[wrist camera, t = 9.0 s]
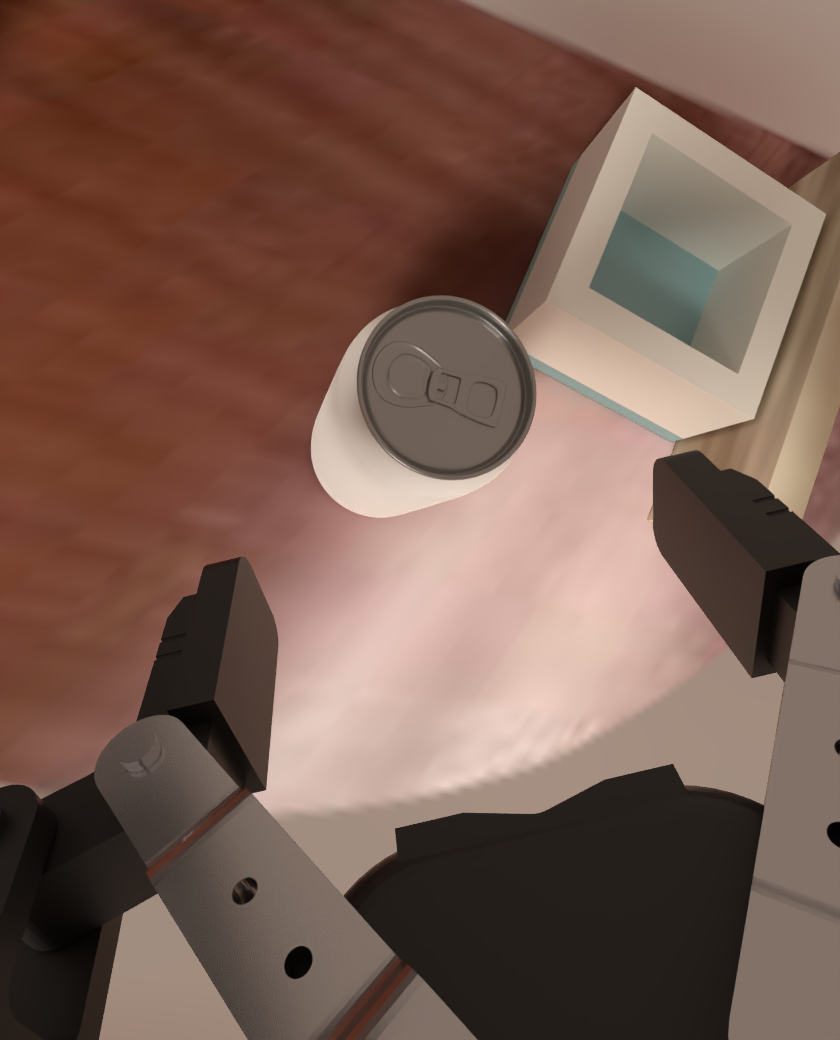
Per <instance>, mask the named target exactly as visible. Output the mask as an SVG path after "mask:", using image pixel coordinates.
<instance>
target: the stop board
mask: <svg viewBox="0 0 840 1040" xmlns="http://www.w3.org/2000/svg"><path fill="white" fill-rule="evenodd" d="M788 189H789V190H791V191H792V192H794V193H795V194H797V195H798V196H800V197H801V198H803V199H804V200H806V201H807V202H809V203H810V204H812V205H813V206H815V207H816V208H818V209H819V210H821V211H822V212H824V213H825V214H826V216H825V219H824V222H823V225H822V227H821V230H820V233H819V236H818V239H817V242H816V244H815V247H814V250H813V253H812V256H811V259H810V261H809V264H808V267H807V270H806V273H805V276H804V279H803V281H802V284H801V287H800V290H799V293H798V296H797V298H796V301H795V304H794V307H793V310H792V313H791V315H790V318H789V321H788V324H787V327H786V330H785V332H784V335H783V338H782V341H781V344H780V347H779V349H778V352H777V355H776V358H775V361H774V364H773V367H772V369H771V372H770V375H769V378H768V381H767V384H766V386H765V389H764V392H763V395H762V398H761V401H760V403H759V406H758V409H757V412H756V415H755V418H754V419H752V420H748V421H745V422H741V423H738V424H734V425H730V426H727V427H723V428H720V429H716V430H713V431H709V432H706V433H702V434H698V435H695V436H691V437H688V438H684V439H681V440H677V442H676V444H675V447H674V450H673V452H672V455H676V454H680V453H685V452H689V451H693V450H698V451H700V452H701V453H703V454H704V455H705V456H706V457H707V458H708V459H709V460H710V461H711V462H712V463H713V464H714V465H715V466H716V467H717V468H718V469H719V470H720V471H722V470H726V469H730V468H731V469H734V470H736V471H738V472H741V473H743V474H745V475H748V476H750V477H752V478H755V479H757V480H758V481H759V482H760V483H762V484H763V485H764V486H765V487H766V488H767V489H768V490H769V491H770V492H772V493H773V494H774V496H775V499H776V498H778V499H779V500H781V501H782V502H783V503H784V504H785V505H786V506H787V507H788V508H789V511H790V512H791V511H793V512H794V513H795V514H796V515H797V516H798V517H800V518H801V519H802V518H803V515H804V512H805V509H806V506H807V503H808V500H809V497H810V494H811V491H812V488H813V485H814V482H815V479H816V476H817V473H818V470H819V467H820V464H821V461H822V458H823V455H824V452H825V449H826V446H827V443H828V440H829V437H830V434H831V431H832V428H833V425H834V422H835V419H836V416H837V413H838V410H839V407H840V152H839V153H838V154H836V155H835V156H833V157H832V158H831V159H829V160H828V161H826V162H825V163H823V164H822V165H820V166H819V167H818V168H816V169H815V170H813V171H812V172H810V173H809V174H808V175H806V176H805V177H803V178H802V179H800V180H799V181H798V182H796V183H795V184H793V185H792V186H790V187H789V188H788ZM672 455H671V456H672ZM648 521H650V522H652V523H653V506H652V509H651V512H650V514H649V517H648Z"/></svg>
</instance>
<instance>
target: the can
mask: <svg viewBox="0 0 840 1040" xmlns="http://www.w3.org/2000/svg"><path fill="white" fill-rule="evenodd" d="M535 407H536V381H535V375H534V371H533V367H532V364H531V361H530V358H529V356H528V353H527V351H526V349H525V347H524V345H523V344H522V342H521V341H520V339H519V338H518V336H517V335H516V333H515V332H514V331H513V330H512V329H511V327H510V326H509V325H508V324H507V323H506V322H505V321H504V320H503V319H501V318H500V317H499V316H498V315H496V314H495V313H494V312H492V311H491V310H489V309H487V308H486V307H484V306H482V305H480V304H478V303H476V302H473V301H470V300H467V299H464V298H460V297H455V296H445V295H436V296H427V297H422V298H418V299H414V300H412V301H409V302H407V303H405V304H402V305H401V306H399V307H396V308H393V309H391V310H389V311H387V312H385V313H383V314H381V315H380V316H378V317H377V318H375V319H374V320H373V321H371V322H370V323H369V324H368V325H367V326H366V327H365V328H364V329H363V330H362V331H361V332H360V333H359V334H358V335H357V336H356V338H355V339H354V340H353V342H352V343H351V345H350V346H349V348H348V350H347V351H346V353H345V355H344V357H343V359H342V361H341V363H340V365H339V367H338V369H337V372H336V374H335V376H334V378H333V380H332V383H331V385H330V387H329V390H328V392H327V394H326V396H325V399H324V401H323V403H322V406H321V408H320V411H319V413H318V416H317V418H316V421H315V424H314V428H313V432H312V440H311V457H312V463H313V467H314V470H315V473H316V475H317V477H318V480H319V481H320V483H321V485H322V486H323V488H324V489H325V490H326V492H327V493H328V494H329V495H330V496H331V497H332V498H333V499H334V500H335V501H336V502H337V503H339V504H340V505H342V506H343V507H345V508H346V509H348V510H350V511H352V512H355V513H357V514H360V515H364V516H369V517H379V518H383V517H392V516H397V515H401V514H405V513H409V512H412V511H416V510H419V509H422V508H426V507H429V506H432V505H435V504H439V503H442V502H445V501H448V500H451V499H454V498H457V497H460V496H463V495H466V494H468V493H470V492H473V491H475V490H477V489H479V488H481V487H482V486H484V485H486V484H487V483H488V482H490V481H491V480H493V479H494V478H495V477H496V476H497V475H499V474H500V473H501V472H502V471H503V470H504V469H505V467H506V466H507V465H508V464H509V463H510V461H511V460H512V458H513V457H514V455H515V454H516V452H517V450H518V448H519V447H520V445H521V444H522V442H523V441H524V439H525V437H526V435H527V433H528V431H529V429H530V426H531V424H532V420H533V417H534V412H535Z"/></svg>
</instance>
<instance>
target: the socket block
mask: <svg viewBox="0 0 840 1040" xmlns="http://www.w3.org/2000/svg"><path fill="white" fill-rule="evenodd" d="M825 216H826V214H825V213H824V212H822V211H821V210H819V209H818V208H816V207H815V206H813V205H812V204H810V203H809V202H807V201H806V200H804V199H803V198H801V197H800V196H798V195H797V194H795V193H794V192H792V191H791V190H789V189H788V188H786V187H785V186H783V185H782V184H780V183H779V182H777V181H776V180H774V179H773V178H771V177H770V176H768V175H767V174H765V173H764V172H762V171H761V170H759V169H758V168H756V167H755V166H753V165H752V164H750V163H749V162H747V161H746V160H744V159H743V158H741V157H740V156H738V155H737V154H735V153H734V152H732V151H731V150H729V149H728V148H726V147H725V146H723V145H722V144H720V143H719V142H717V141H716V140H714V139H713V138H711V137H710V136H708V135H707V134H705V133H704V132H702V131H701V130H699V129H698V128H696V127H695V126H693V125H692V124H690V123H689V122H687V121H686V120H684V119H683V118H681V117H680V116H678V115H677V114H675V113H674V112H672V111H671V110H669V109H668V108H666V107H665V106H663V105H662V104H660V103H659V102H657V101H656V100H654V99H653V98H651V97H650V96H648V95H647V94H645V93H644V92H642V91H641V90H639V89H638V88H635V89H634V90H633V91H632V93H631V94H630V95H629V96H628V98H627V99H626V100H625V101H624V103H623V104H622V105H621V106H620V108H619V109H618V110H617V111H616V113H615V114H614V115H613V116H612V117H611V119H610V120H609V121H608V122H607V124H606V125H605V126H604V127H603V129H602V130H601V131H600V132H599V134H598V135H597V136H596V137H595V139H594V140H593V141H592V142H591V144H590V145H589V146H588V147H587V149H586V150H585V151H584V152H583V153H582V155H581V156H580V157H579V158H578V160H577V161H576V162H575V163H574V165H573V166H572V168H571V170H570V172H569V175H568V177H567V179H566V182H565V184H564V186H563V189H562V191H561V193H560V196H559V198H558V200H557V203H556V205H555V207H554V209H553V212H552V214H551V216H550V219H549V221H548V223H547V226H546V228H545V230H544V233H543V235H542V237H541V240H540V242H539V244H538V247H537V249H536V251H535V254H534V256H533V258H532V261H531V263H530V265H529V268H528V270H527V272H526V275H525V277H524V279H523V282H522V284H521V286H520V289H519V291H518V293H517V296H516V298H515V300H514V303H513V305H512V307H511V310H510V312H509V314H508V317H507V319H506V321H505V322H506V323H507V324H508V325H509V326H510V327H511V329H512V330H513V331H514V332H515V333H516V335H517V336H518V338H519V339H520V341H521V342H522V344H523V345H524V347H525V349H526V351H527V353H528V356H529V358H530V361H531V364H532V367H533V368H535V369H537V370H539V371H541V372H543V373H545V374H546V375H548V376H550V377H552V378H554V379H556V380H558V381H559V382H561V383H563V384H565V385H567V386H569V387H570V388H572V389H574V390H576V391H578V392H580V393H582V394H583V395H585V396H587V397H589V398H591V399H593V400H594V401H596V402H598V403H600V404H602V405H604V406H606V407H607V408H609V409H611V410H613V411H615V412H617V413H619V414H620V415H622V416H624V417H626V418H628V419H630V420H631V421H633V422H635V423H637V424H639V425H641V426H643V427H644V428H646V429H648V430H650V431H652V432H654V433H655V434H657V435H659V436H661V437H663V438H665V439H667V440H668V441H670V442H673V441H677V440H681V439H684V438H688V437H691V436H695V435H698V434H702V433H706V432H709V431H713V430H716V429H720V428H723V427H727V426H730V425H734V424H738V423H741V422H745V421H748V420H752V419H754V418H755V415H756V412H757V409H758V406H759V403H760V401H761V398H762V395H763V392H764V389H765V386H766V384H767V381H768V378H769V375H770V372H771V369H772V367H773V364H774V361H775V358H776V355H777V352H778V349H779V347H780V344H781V341H782V338H783V335H784V332H785V330H786V327H787V324H788V321H789V318H790V315H791V313H792V310H793V307H794V304H795V301H796V298H797V296H798V293H799V290H800V287H801V284H802V281H803V279H804V276H805V273H806V270H807V267H808V264H809V261H810V259H811V256H812V253H813V250H814V247H815V244H816V242H817V239H818V236H819V233H820V230H821V227H822V225H823V222H824V219H825Z"/></svg>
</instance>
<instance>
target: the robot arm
mask: <svg viewBox="0 0 840 1040" xmlns="http://www.w3.org/2000/svg"><path fill="white" fill-rule="evenodd" d="M653 530H654V536H655V540H656V543H657V546H658V548H659V550H660V552H661V554H662V556H663V557H664V559H665V560H666V561H667V563H668V564H669V565H670V567H671V568H672V570H673V571H674V572H675V574H676V575H677V576H678V578H679V579H680V581H681V582H682V583H683V585H684V586H685V587H686V589H687V590H688V591H689V593H690V594H691V596H692V597H693V598H694V600H695V601H696V602H697V604H698V605H699V607H700V608H701V609H702V611H703V612H704V613H705V615H706V616H707V618H708V619H709V620H710V622H711V623H712V624H713V626H714V627H715V628H716V630H717V631H718V633H719V634H720V635H721V637H722V638H723V639H724V641H725V642H726V644H727V645H728V646H729V648H730V649H731V650H732V652H733V653H734V655H735V656H736V657H737V659H738V660H739V661H740V663H741V664H742V665H743V667H744V668H745V669H746V671H747V672H748V674H749V675H750V676H751V678H754V677H759V676H763V675H767V674H771V673H776V672H777V673H778V674H779V676H780V677H781V678H782V680H783V681H784V682H785V683H784V689H783V694H782V700H781V706H780V712H779V718H778V724H777V730H776V736H775V742H774V748H773V754H772V759H771V765H770V771H769V777H768V783H767V789H766V795H765V800H764V805H762V804H760V803H757V802H755V801H753V800H751V799H748V798H745V797H743V796H739V795H737V794H734V793H731V792H727V791H722V790H718V789H713V788H707V787H700V786H685V785H684V784H683V782H682V781H681V779H680V777H679V775H678V773H677V771H676V769H675V768H674V765H673V764H671V765H666V766H662V767H657V768H653V769H650V770H645V771H640V772H636V773H632V774H627V775H623V776H619V777H615V778H610V779H606V780H603V781H601V782H600V783H598V784H596V785H594V786H592V787H590V788H588V789H586V790H584V791H582V792H580V793H579V794H577V795H575V796H573V797H571V798H569V799H567V800H565V801H563V802H562V803H560V804H558V805H556V806H554V807H552V808H550V809H548V810H546V811H544V812H541V813H537V814H499V813H498V814H497V813H461V814H456V815H452V816H448V817H443V818H439V819H435V820H430V821H426V822H422V823H418V824H413V825H409V826H405V827H400V828H396V829H395V833H396V843H397V852H396V853H394V854H392V855H390V856H388V857H387V858H385V859H384V860H382V861H381V862H379V863H378V864H376V865H375V866H374V867H372V868H371V869H370V870H369V871H368V872H366V873H365V874H364V875H363V876H362V877H361V878H359V880H357V882H356V883H355V884H354V885H353V886H352V887H351V888H350V889H349V890H348V891H347V892H346V893H345V895H344V896H343V895H342V894H341V893H340V892H339V891H338V889H337V888H336V887H335V886H334V885H333V884H332V883H331V882H330V881H329V879H328V878H327V877H326V876H325V875H324V874H323V873H322V872H321V870H320V869H319V868H318V867H317V866H316V865H315V864H314V863H313V862H312V861H311V859H310V858H309V857H308V856H307V855H306V854H305V853H304V851H303V850H302V849H301V848H300V847H299V846H298V845H297V844H296V842H295V841H294V840H293V839H292V838H291V837H290V836H289V835H288V834H287V832H286V831H285V830H284V829H283V828H282V827H281V826H280V825H279V823H278V822H277V821H276V820H275V819H274V818H273V817H272V816H271V814H270V813H269V812H268V811H267V810H266V809H265V808H264V807H263V805H262V804H261V803H260V802H259V801H258V800H257V799H256V798H255V797H254V795H253V794H252V793H255V792H260V791H264V790H266V784H267V772H268V760H269V748H270V737H271V725H272V713H273V701H274V689H275V677H276V666H277V654H278V634H277V628H276V624H275V620H274V617H273V614H272V612H271V610H270V607H269V605H268V603H267V601H266V598H265V596H264V594H263V592H262V590H261V587H260V585H259V583H258V581H257V578H256V576H255V574H254V572H253V569H252V567H251V565H250V563H249V561H248V560H247V559H246V558H245V557H239V558H235V559H230V560H226V561H222V562H218V563H214V564H209V565H206V566H205V567H204V568H203V571H202V575H201V579H200V583H199V587H198V591H197V594H195V595H190V596H186V597H183V599H182V600H181V601H180V602H179V604H178V605H177V606H176V608H175V609H174V610H173V611H172V613H171V614H170V615H169V617H168V618H167V621H166V625H165V628H164V631H163V635H162V638H161V640H162V643H160V645H159V648H158V651H157V655H156V658H157V660H155V661H154V665H153V668H152V671H151V675H150V678H149V681H148V685H147V688H146V691H145V695H144V698H143V701H142V705H141V708H140V711H139V715H138V718H137V721H136V722H135V723H133V724H131V725H130V726H128V727H126V728H125V729H123V730H122V731H121V732H120V733H118V734H117V735H116V736H115V737H114V738H113V739H112V740H111V741H110V742H109V743H108V744H107V746H106V747H105V748H104V750H103V751H102V753H101V754H100V756H99V758H98V760H97V763H96V766H95V771H94V772H93V773H91V774H90V775H88V776H86V777H84V778H82V779H80V780H78V781H76V782H74V783H72V784H70V785H68V786H66V787H64V788H62V789H60V790H58V791H56V792H54V793H53V794H51V795H49V796H47V797H45V798H43V799H40V798H39V797H38V795H37V794H36V793H35V792H34V791H33V790H32V789H30V788H29V787H27V786H24V785H9V786H5V787H1V788H0V1040H99V1036H100V1030H101V1025H102V1020H103V1015H104V1009H105V1004H106V999H107V994H108V989H109V983H110V978H111V973H112V968H113V962H114V957H115V951H116V947H117V942H118V937H119V931H120V926H121V921H122V916H123V913H124V912H126V911H128V910H130V909H131V908H133V907H135V906H137V905H138V904H140V903H142V902H144V901H145V900H147V899H149V898H151V897H152V896H154V895H156V894H159V896H160V898H161V899H162V901H163V903H164V904H165V906H166V907H167V909H168V910H169V912H170V914H171V916H172V917H173V919H174V920H175V922H176V924H177V925H178V926H179V928H180V930H181V932H182V933H183V935H184V937H185V938H186V940H187V941H188V943H189V945H190V946H191V948H192V950H193V951H194V953H195V955H196V956H197V958H198V959H199V961H200V963H201V964H202V966H203V968H204V969H205V971H206V972H207V974H208V976H209V977H210V979H211V981H212V982H213V984H214V985H215V987H216V989H217V990H218V992H219V994H220V995H221V997H222V998H223V1000H224V1002H225V1003H226V1005H227V1007H228V1008H229V1010H230V1011H231V1013H232V1014H233V1016H234V1018H235V1020H236V1021H237V1023H238V1024H239V1026H240V1028H241V1029H242V1031H243V1032H244V1034H245V1036H246V1037H247V1039H248V1040H840V553H839V552H838V551H836V550H835V549H834V548H833V547H832V546H831V545H830V544H829V543H828V542H826V541H825V540H824V539H823V538H822V537H821V536H820V535H819V534H817V533H816V532H815V531H814V530H813V529H812V528H811V527H810V526H809V525H807V524H806V523H805V522H804V521H803V520H802V519H801V518H800V517H798V516H797V515H796V514H795V513H794V512H793V511H791V512H790V511H789V508H788V507H787V506H786V505H785V504H784V503H783V502H782V501H781V500H779V499H778V498H776V499H775V496H774V494H773V493H772V492H770V491H769V490H768V489H767V488H766V487H765V486H764V485H763V484H762V483H760V482H759V481H758V480H757V479H755V478H752V477H750V476H748V475H745V474H743V473H741V472H738V471H736V470H734V469H731V468H730V469H726V470H722V471H720V470H719V469H718V468H717V467H716V466H715V465H714V464H713V463H712V462H711V461H710V460H709V459H708V458H707V457H706V456H705V455H704V454H703V453H701V452H700V451H698V450H693V451H689V452H685V453H680V454H676V455H672V456H668V457H664V458H659V459H657V460H656V461H655V463H654V467H653Z"/></svg>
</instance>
